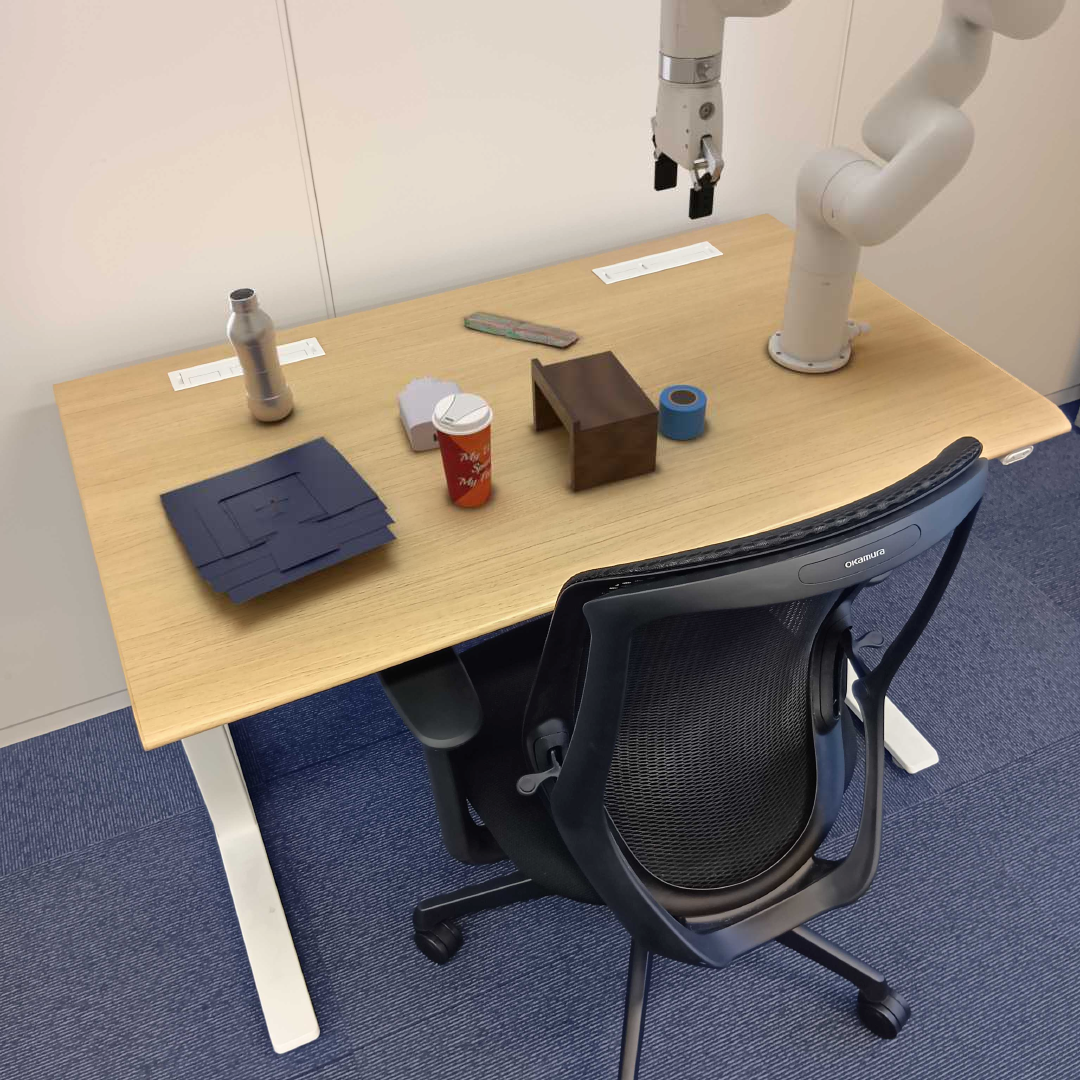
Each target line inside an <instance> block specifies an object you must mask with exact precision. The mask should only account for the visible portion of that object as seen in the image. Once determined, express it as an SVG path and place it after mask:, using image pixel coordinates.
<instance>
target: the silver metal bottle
mask: <svg viewBox="0 0 1080 1080" xmlns="http://www.w3.org/2000/svg"><path fill="white" fill-rule="evenodd" d="M228 300H229V308H230V311H232V313H231V315H230V316H229V319H228V323H227V325H226V334H227V335H226V336H227V337H228V340H229V342H230V344H231V346H232V348H233V351H234V353H235V354H236V357H237V360H238V362H239V366H240V368H241V371H242V373H243V380H244V384H245V385H244V386H245V389H246V391H245V392H246V393H245V394H246V402H247V403H246V404H247V407H248V409H249V411H250V413H251V415H252V416H253V417H254V418H256V419H257V420H258V421H261V422H266V423H267V422H268V423H270V422H271V423H272V422H276V421H280V420H282V419H284V418H286V417H287V416H288V415H289V414H290V413H291V411H292V409H293V407H294V395H293V393H292V390H291V387H290V386H289V383H288V382H287V380H286V377H285V375H284V372H283V369H282V366H281V363H280V362H281V361H280V358H279V353H278V348H277V339H276V338H277V335H276V327H275V324H274V321H273V319H272V318H271V316H270V315H269V314H268V313H267V312H266V311H265V310H263V309H262V308H260V307H259V306H260V300H259V298H258V296H257V292H256V290H255V289H254V288H251V287H240V288H236V289H234V290H232V291H231V292H230V293H229V294H228Z"/></svg>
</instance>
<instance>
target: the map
mask: <svg viewBox="0 0 1080 1080" xmlns="http://www.w3.org/2000/svg"><path fill="white" fill-rule="evenodd" d="M463 324H464V326H466V327H468V328H470V329H474V330H477V331H482V332H485V333H489V334H493V335H497V336H505V337H506V338H511V339H518V340H522V341H528V342H534V343H539V344H546V345H550V346H557V347H563V348H564V347H565V346H567V347H568V345H570V344H571V343H573V342H575V341H576V340H577V338H578V337H579V336H580V334H577V332H576V331H570V330H566V329H561V328H558V327H553V326H552V327H551V326H547V325H541V324H537V323H530V322H527V321H521V320H520V321H519V320H515V319H509V318H505V317H501V316H500V317H499V316H495V315H491V314H486V313H482V312H479V311H477V312H475V313H472V314H471V315H467V316H464V322H463Z"/></svg>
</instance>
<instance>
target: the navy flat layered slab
mask: <svg viewBox="0 0 1080 1080" xmlns="http://www.w3.org/2000/svg"><path fill="white" fill-rule="evenodd" d="M159 498H160V500H161V503H162V504H163V509H164V511H165V513H166V515H167V517H168V519H169V520H170V522H171V524H172V525H173V528H174V529H175V531H176V533H177V535H178V537H179V539H180V541H181V543H182V544H183V547H184V548H185V550H186V552H187V554H188V556H189V557H190V559H191V561H192V563H193V565H194V567H195V568H196V570H197V571H198V573H199V575H200V576H201V579H202V580H203V582H206V581H208V583H209V585H210V586H211V589H212V590H213V591H214V593H215V594H216V595H220V594H221V593H224V592H226V593H227V595H228V596H229V598H230V600H231V601H232V603H233V605H234V606H237V605H240V604H242V603H245V602H246V601H249V600H252V599H254V598H256V597H259V596H260V595H263V594H266V593H268V592H271V591H273V590H275V589H277V588H280V587H282V586H285V585H287V584H289V583H292V582H295V581H297V580H299V579H302V578H304V577H306V576H308V575H311V574H313V573H315V572H317V571H320V570H323V569H326V568H328V567H330V566H332V565H333V566H334V565H336V564H339V563H341V562H343V561H346V560H348V559H351V558H352V557H355V556H358V555H360V554H363V553H365V552H368V551H371V550H373V549H376V548H378V547H381V546H383V545H386V544H389V543H390V542H393V541H395V540H398V538H397V537H396V536H395V534H394V533H393V532H392V531H391V529H390V528H389V527H388V526H390V525H392V524H395V523H396V521H394V519H393V518H392V517H391V515H390V514H389V513H388V512H387V511H386V510H388V509H389V508H388V507H387V506H386V504H385V503H384V502H383V501H382V500H381V498H380V497H379V494H377V492H376V491H375V490H374V489H373V488H372V487H371V486H370V485H369V484H368V483H367V482H366V480H365V479H364V478H363V477H362V476H361V475H360V473H359V472H358V471H357V470H356V469H355V467H354V466H353V465H351V463H350V462H349V461H348V459H346V458H345V456H343V454H342V453H341V452H340V451H339V450H338V449H337V448H336V447H335V446H334V445H333V444H330V442H329V441H327V439H325V437H323V436H321V437H318V438H316V439H312V440H311V441H307V442H305V443H302V444H300V445H298V446H295V447H292V448H289V449H286V450H284V451H282V452H279V453H276V454H274V455H271V456H269V457H266V458H263V459H260V460H258V461H256V462H253V463H250V464H248V465H245V466H242V467H238V468H235V469H233V470H230V471H227V472H224V473H220V474H217V475H215V476H211V477H209V478H206V479H203V480H199V481H197V482H194V483H191V484H188V485H185V486H182V487H179V488H176V489H173V490H170V491H167V492H164V493H161V494H159Z"/></svg>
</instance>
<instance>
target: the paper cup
mask: <svg viewBox="0 0 1080 1080" xmlns="http://www.w3.org/2000/svg"><path fill="white" fill-rule="evenodd" d="M493 418H494V413H493V410H492V408H491V407H490V406H489V405H488V403H487V402H486V399H484V398H483V397H481V396H479V395H476V394H472V393H463V394H454V395H450V396H448V397H445V398H444V399H442V400H441V401H439V402H438V404H437V405H436V407H435V411H434V413H433V415H432V422H433V425H434V426H435V427H436V430H437V435H438V441H439V446H440V447H439V449H440V455H441V460H442V467H443V471H444V476H445V480H446V485H447V486H446V487H447V490H448V495H449V498H450V500H451V502H453V504H455V505H457V506H459V507H463V508H474V507H479V506H481V505H483V504H485V503H486V502H488V500H489V499H490V498H491V496H492V495H491V494H492V434H491V433H492V432H491V431H492V428H491V427H492V426H491V423H492V422H493Z"/></svg>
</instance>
